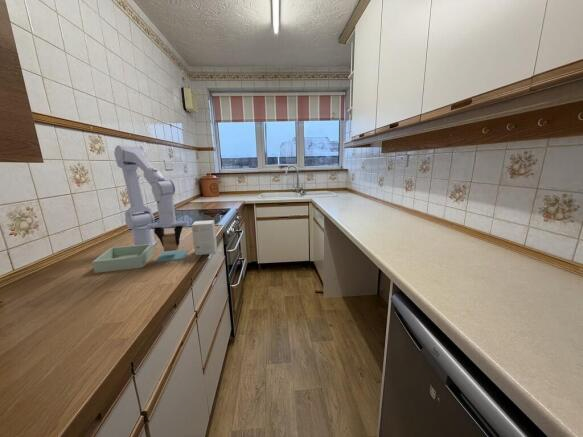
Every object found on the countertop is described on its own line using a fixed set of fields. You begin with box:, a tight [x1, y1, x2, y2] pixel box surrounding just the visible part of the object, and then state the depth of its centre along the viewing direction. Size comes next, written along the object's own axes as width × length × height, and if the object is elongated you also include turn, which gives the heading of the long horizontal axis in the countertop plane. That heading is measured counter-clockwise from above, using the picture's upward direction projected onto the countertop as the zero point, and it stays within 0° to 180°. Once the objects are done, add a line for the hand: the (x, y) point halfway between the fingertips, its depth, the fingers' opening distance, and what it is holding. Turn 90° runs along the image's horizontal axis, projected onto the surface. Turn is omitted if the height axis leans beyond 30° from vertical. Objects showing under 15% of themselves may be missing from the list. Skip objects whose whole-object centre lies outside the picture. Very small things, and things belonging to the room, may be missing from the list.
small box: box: [191, 219, 218, 256], centre depth 101 cm, size 8×6×13 cm
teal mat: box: [155, 249, 188, 263], centre depth 98 cm, size 10×10×1 cm
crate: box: [91, 244, 155, 274], centre depth 93 cm, size 15×15×4 cm
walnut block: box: [162, 232, 180, 252], centre depth 97 cm, size 4×4×6 cm
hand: (171, 245), depth 97 cm, fingers closed on walnut block, 4 cm apart
